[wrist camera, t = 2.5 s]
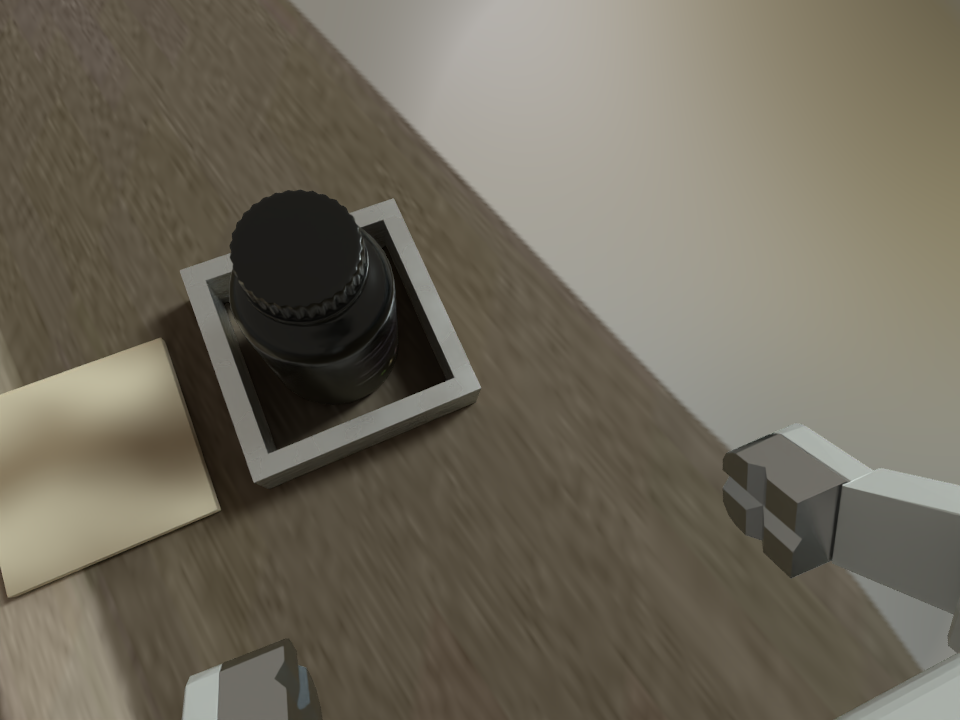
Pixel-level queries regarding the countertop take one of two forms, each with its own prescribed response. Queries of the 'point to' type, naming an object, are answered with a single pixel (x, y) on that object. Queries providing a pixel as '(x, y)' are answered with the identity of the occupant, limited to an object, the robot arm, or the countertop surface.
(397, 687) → the countertop surface
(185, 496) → the birch pad
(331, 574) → the countertop surface
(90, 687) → the countertop surface
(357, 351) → the supplement bottle
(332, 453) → the steel holder
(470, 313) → the countertop surface
